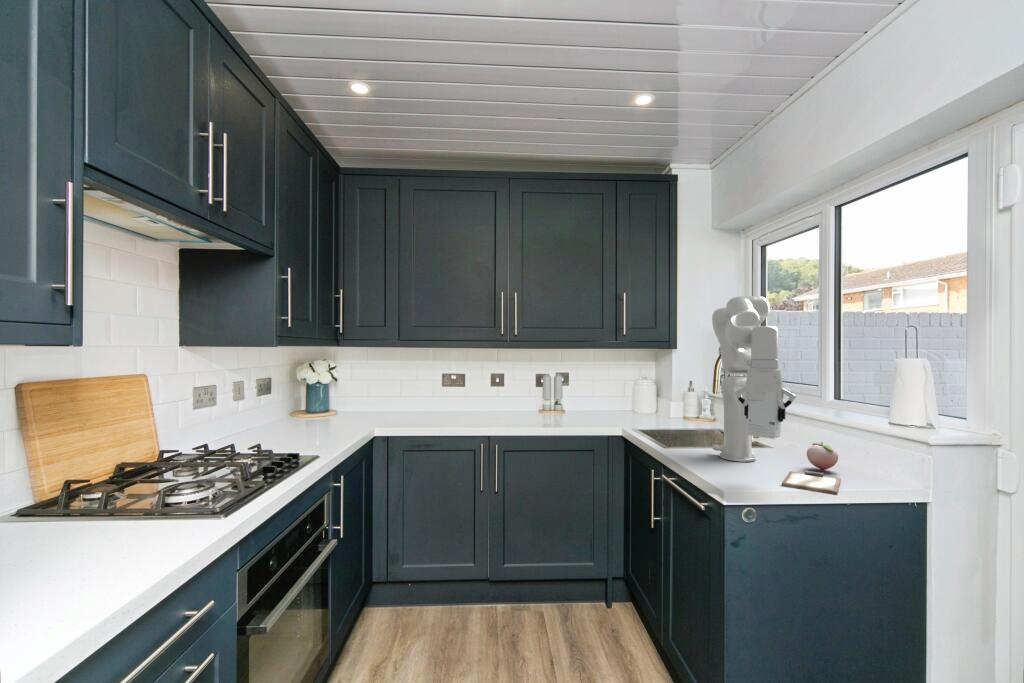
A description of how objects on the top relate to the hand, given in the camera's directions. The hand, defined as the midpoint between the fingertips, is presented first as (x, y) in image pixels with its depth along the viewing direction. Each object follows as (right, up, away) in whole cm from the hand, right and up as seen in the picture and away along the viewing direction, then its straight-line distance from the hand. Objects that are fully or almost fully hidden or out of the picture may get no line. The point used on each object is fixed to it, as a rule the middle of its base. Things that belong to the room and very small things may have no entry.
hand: (764, 419), depth 147 cm
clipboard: (+14, -20, -1) cm, 25 cm away
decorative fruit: (+28, -20, +15) cm, 37 cm away
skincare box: (0, -5, 0) cm, 5 cm away
